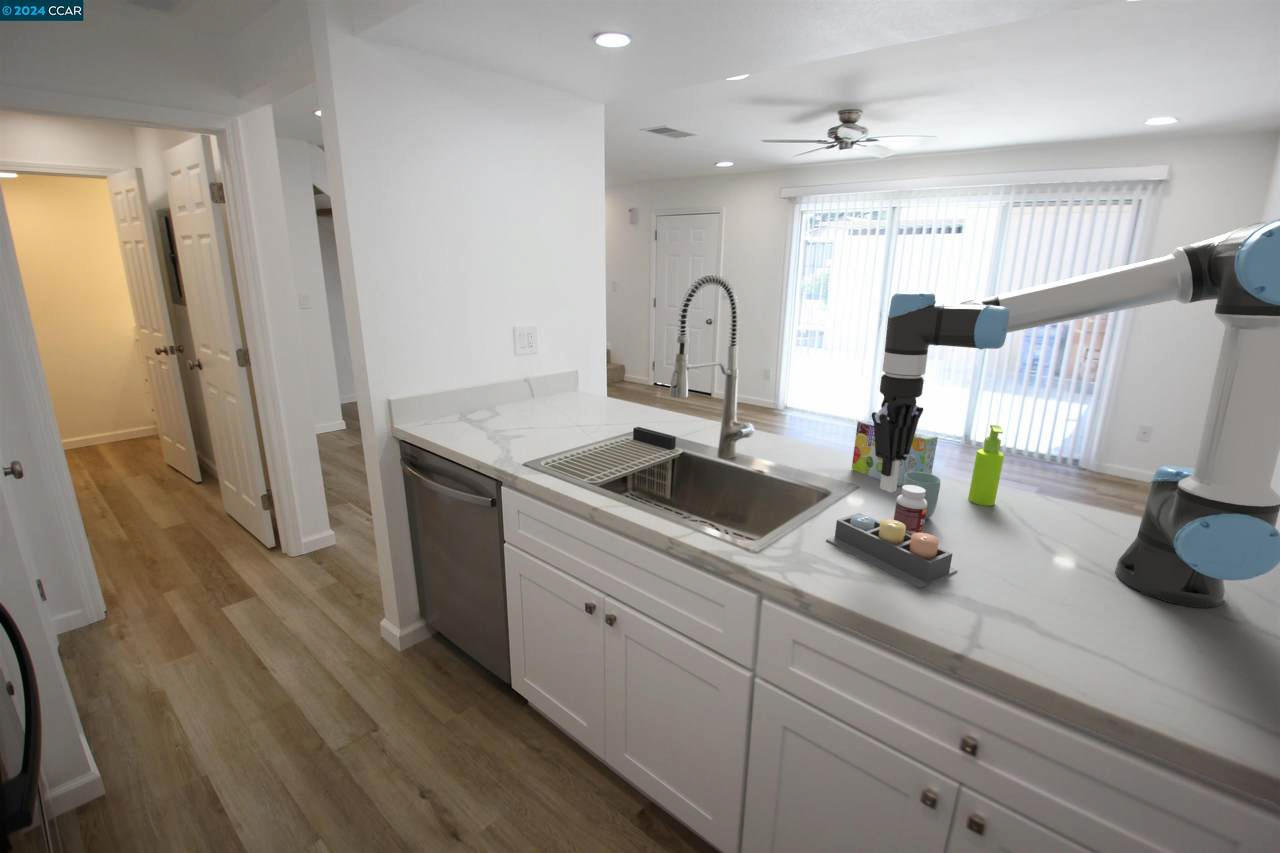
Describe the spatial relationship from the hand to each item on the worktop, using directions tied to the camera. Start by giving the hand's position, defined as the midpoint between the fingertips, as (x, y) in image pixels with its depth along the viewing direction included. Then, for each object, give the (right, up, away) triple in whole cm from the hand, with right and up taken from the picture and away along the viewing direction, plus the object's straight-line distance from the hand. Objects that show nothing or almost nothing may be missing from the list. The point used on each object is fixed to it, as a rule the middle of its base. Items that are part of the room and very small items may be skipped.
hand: (888, 489), depth 117 cm
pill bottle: (+9, -12, +11) cm, 18 cm away
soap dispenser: (+37, -7, +30) cm, 48 cm away
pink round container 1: (+4, -13, -5) cm, 15 cm away
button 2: (+1, -11, +1) cm, 11 cm away
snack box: (+19, -2, +44) cm, 49 cm away
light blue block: (-3, -11, +7) cm, 14 cm away
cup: (+16, -9, +21) cm, 27 cm away
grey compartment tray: (+1, -14, +2) cm, 14 cm away
